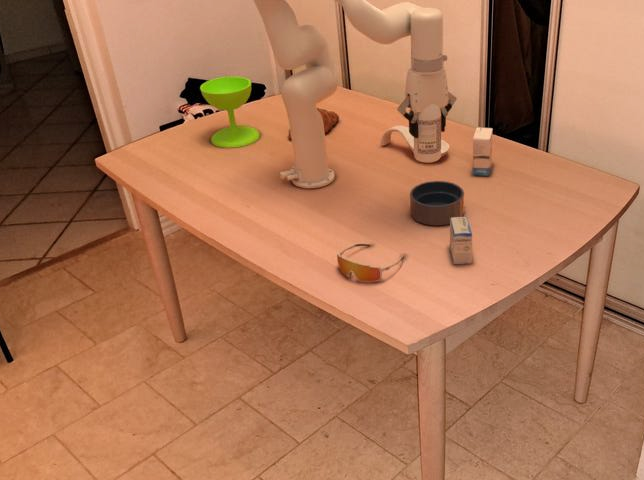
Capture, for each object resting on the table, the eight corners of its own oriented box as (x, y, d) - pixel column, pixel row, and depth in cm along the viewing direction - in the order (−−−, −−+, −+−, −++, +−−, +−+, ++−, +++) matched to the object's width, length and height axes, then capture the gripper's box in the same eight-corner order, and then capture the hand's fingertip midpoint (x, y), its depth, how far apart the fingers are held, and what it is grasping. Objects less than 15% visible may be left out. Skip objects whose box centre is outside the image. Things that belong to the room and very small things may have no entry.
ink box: (488, 176, 206) (490, 139, 199) (472, 175, 207) (472, 138, 200) (492, 164, 213) (493, 127, 206) (475, 163, 214) (476, 126, 207)
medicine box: (449, 247, 175) (449, 217, 170) (467, 246, 175) (467, 215, 171) (453, 265, 169) (453, 234, 164) (472, 263, 169) (472, 232, 164)
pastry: (334, 140, 231) (332, 116, 226) (287, 141, 231) (284, 117, 227) (339, 120, 245) (337, 97, 240) (295, 121, 245) (292, 98, 241)
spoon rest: (456, 154, 220) (456, 132, 215) (435, 168, 212) (435, 146, 208) (394, 138, 231) (393, 117, 227) (373, 151, 223) (371, 129, 219)
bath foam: (445, 159, 180) (446, 84, 169) (421, 165, 178) (420, 89, 167) (433, 149, 186) (433, 75, 174) (409, 154, 183) (407, 80, 172)
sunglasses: (327, 272, 167) (326, 253, 165) (363, 250, 179) (364, 232, 177) (376, 289, 161) (376, 270, 159) (411, 265, 173) (412, 247, 170)
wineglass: (201, 143, 231) (189, 90, 221) (229, 125, 244) (219, 74, 233) (242, 150, 226) (232, 96, 216) (268, 131, 238) (260, 79, 228)
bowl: (426, 231, 182) (425, 211, 178) (401, 208, 192) (401, 188, 189) (473, 218, 187) (474, 198, 183) (447, 195, 197) (447, 176, 194)
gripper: (451, 53, 174) (450, 121, 184) (387, 64, 167) (390, 134, 178) (466, 61, 168) (464, 131, 178) (401, 74, 162) (403, 145, 172)
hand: (427, 132), depth 178 cm, fingers closed on bath foam, 6 cm apart
